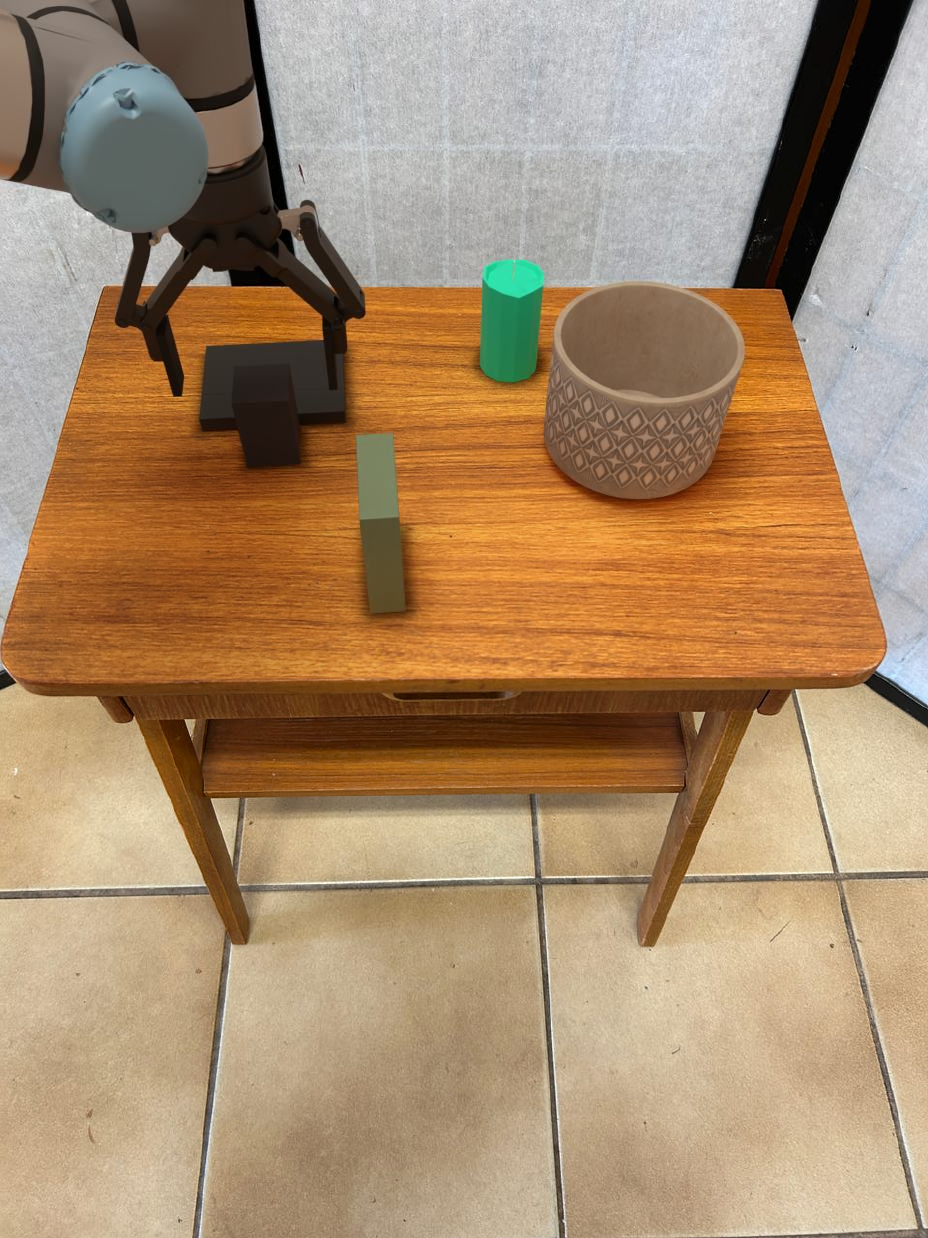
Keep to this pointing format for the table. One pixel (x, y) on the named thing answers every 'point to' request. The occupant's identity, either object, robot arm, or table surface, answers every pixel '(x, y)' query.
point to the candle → (510, 319)
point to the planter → (640, 387)
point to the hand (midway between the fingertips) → (256, 383)
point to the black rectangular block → (266, 415)
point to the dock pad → (301, 355)
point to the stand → (380, 522)
